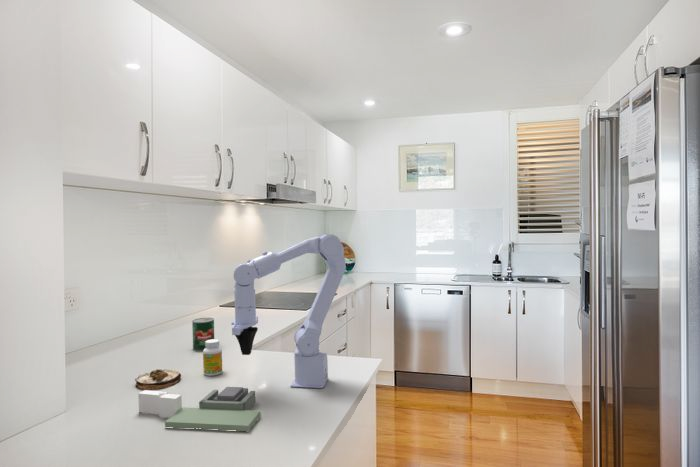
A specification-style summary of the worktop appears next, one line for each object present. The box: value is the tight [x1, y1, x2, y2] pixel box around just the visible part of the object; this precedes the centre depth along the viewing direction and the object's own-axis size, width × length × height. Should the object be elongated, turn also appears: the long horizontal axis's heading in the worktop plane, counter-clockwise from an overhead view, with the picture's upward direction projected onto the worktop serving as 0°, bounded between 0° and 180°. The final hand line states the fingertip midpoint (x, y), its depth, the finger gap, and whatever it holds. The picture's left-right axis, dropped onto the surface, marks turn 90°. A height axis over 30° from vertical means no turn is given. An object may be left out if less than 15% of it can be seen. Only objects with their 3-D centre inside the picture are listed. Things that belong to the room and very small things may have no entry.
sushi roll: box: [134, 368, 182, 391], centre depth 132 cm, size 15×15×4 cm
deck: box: [164, 389, 261, 433], centre depth 109 cm, size 20×16×3 cm
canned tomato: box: [191, 317, 215, 353], centre depth 167 cm, size 8×8×11 cm
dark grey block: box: [213, 386, 249, 402], centre depth 114 cm, size 6×8×4 cm
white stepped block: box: [138, 389, 183, 418], centre depth 110 cm, size 15×11×6 cm
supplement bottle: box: [202, 338, 223, 377], centre depth 140 cm, size 6×6×10 cm
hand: (246, 354), depth 125 cm, fingers closed
